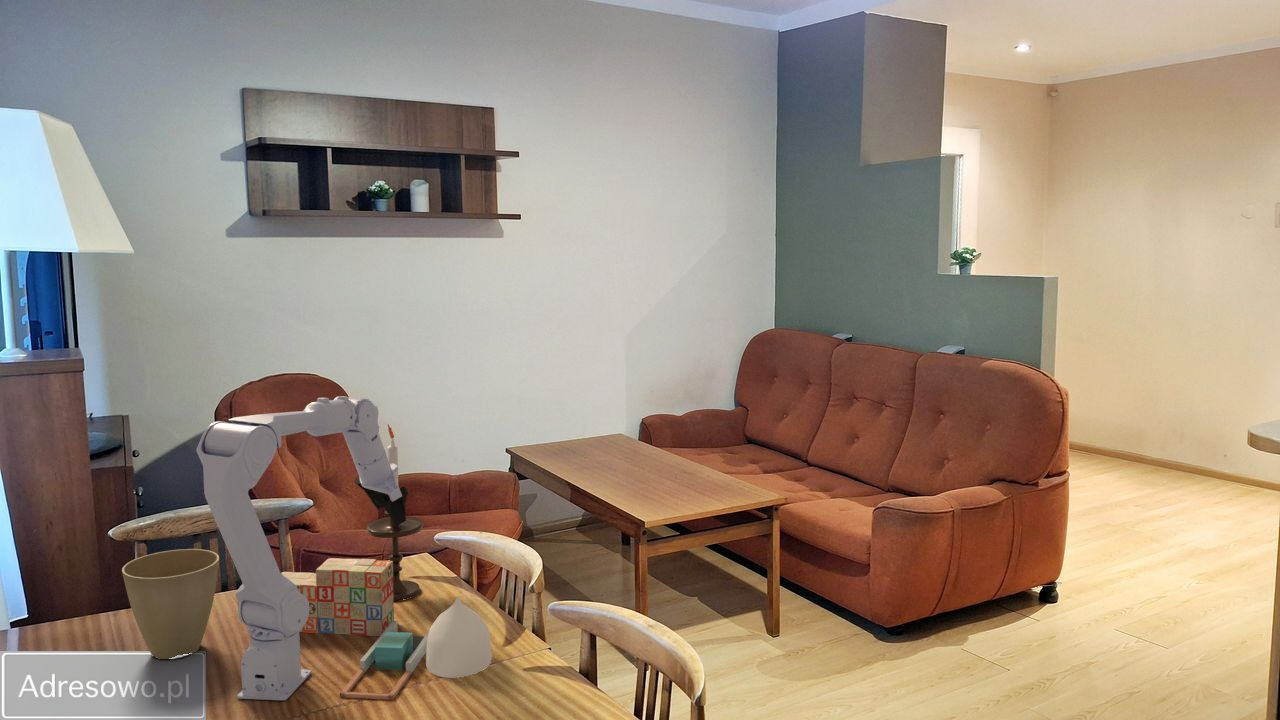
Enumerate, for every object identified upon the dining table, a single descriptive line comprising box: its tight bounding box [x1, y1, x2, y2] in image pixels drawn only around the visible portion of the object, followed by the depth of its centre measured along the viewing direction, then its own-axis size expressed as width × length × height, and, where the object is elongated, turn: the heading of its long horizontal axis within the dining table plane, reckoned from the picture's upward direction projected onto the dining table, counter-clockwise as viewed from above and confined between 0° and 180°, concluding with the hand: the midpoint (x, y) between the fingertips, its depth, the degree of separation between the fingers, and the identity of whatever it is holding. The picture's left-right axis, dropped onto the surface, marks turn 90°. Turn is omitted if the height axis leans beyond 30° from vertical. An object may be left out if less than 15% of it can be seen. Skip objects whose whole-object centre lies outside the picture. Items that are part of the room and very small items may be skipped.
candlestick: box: [366, 424, 423, 602], centre depth 182 cm, size 11×11×35 cm
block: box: [374, 631, 414, 671], centre depth 154 cm, size 6×4×4 cm
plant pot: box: [121, 548, 220, 660], centre depth 157 cm, size 15×15×16 cm
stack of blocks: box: [280, 557, 395, 637], centre depth 167 cm, size 21×6×12 cm, turn 86°
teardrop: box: [425, 595, 493, 679], centre depth 153 cm, size 11×11×12 cm
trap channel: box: [339, 620, 430, 701], centre depth 154 cm, size 24×9×2 cm, turn 176°
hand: (391, 514), depth 170 cm, fingers open, 7 cm apart
